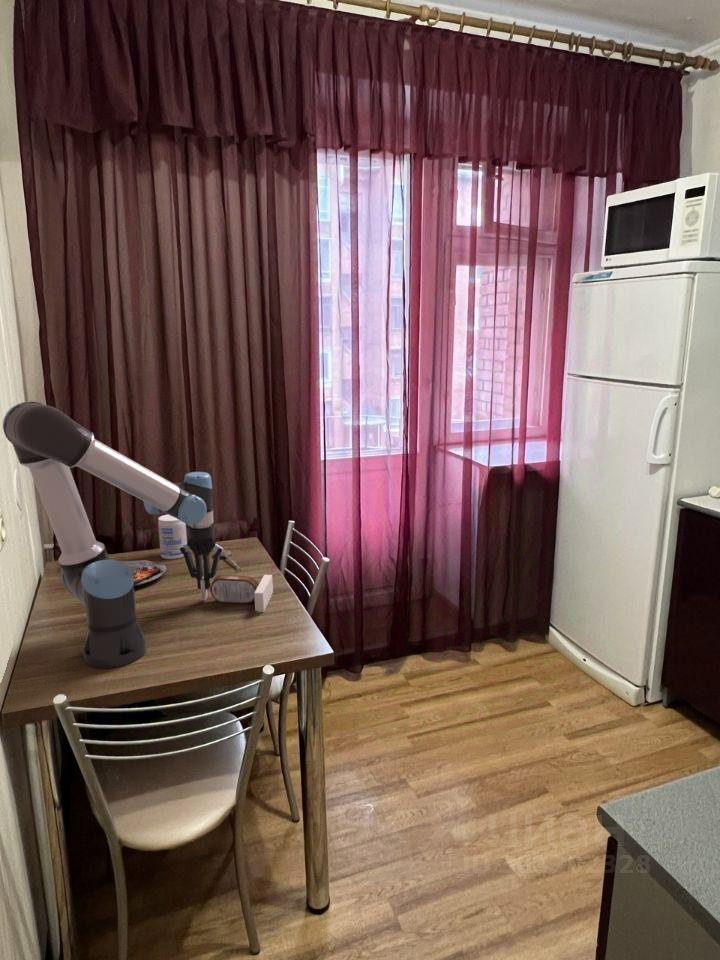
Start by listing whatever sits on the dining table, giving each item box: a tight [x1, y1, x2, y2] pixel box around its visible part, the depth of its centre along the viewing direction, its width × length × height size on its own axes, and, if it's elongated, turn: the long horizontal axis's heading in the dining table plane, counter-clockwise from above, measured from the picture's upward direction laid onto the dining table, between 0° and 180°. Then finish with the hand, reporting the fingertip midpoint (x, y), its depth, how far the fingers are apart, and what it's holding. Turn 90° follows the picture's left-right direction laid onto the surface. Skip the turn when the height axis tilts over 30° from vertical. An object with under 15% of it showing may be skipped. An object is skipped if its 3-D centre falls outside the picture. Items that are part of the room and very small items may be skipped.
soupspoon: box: [212, 549, 243, 572], centre depth 225 cm, size 22×3×7 cm
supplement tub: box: [157, 514, 188, 560], centre depth 231 cm, size 10×10×15 cm
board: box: [254, 574, 274, 613], centre depth 190 cm, size 14×2×6 cm, turn 177°
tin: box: [209, 574, 260, 605], centre depth 190 cm, size 15×3×8 cm, turn 82°
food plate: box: [124, 559, 168, 587], centre depth 211 cm, size 25×23×4 cm
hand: (204, 598), depth 192 cm, fingers closed
